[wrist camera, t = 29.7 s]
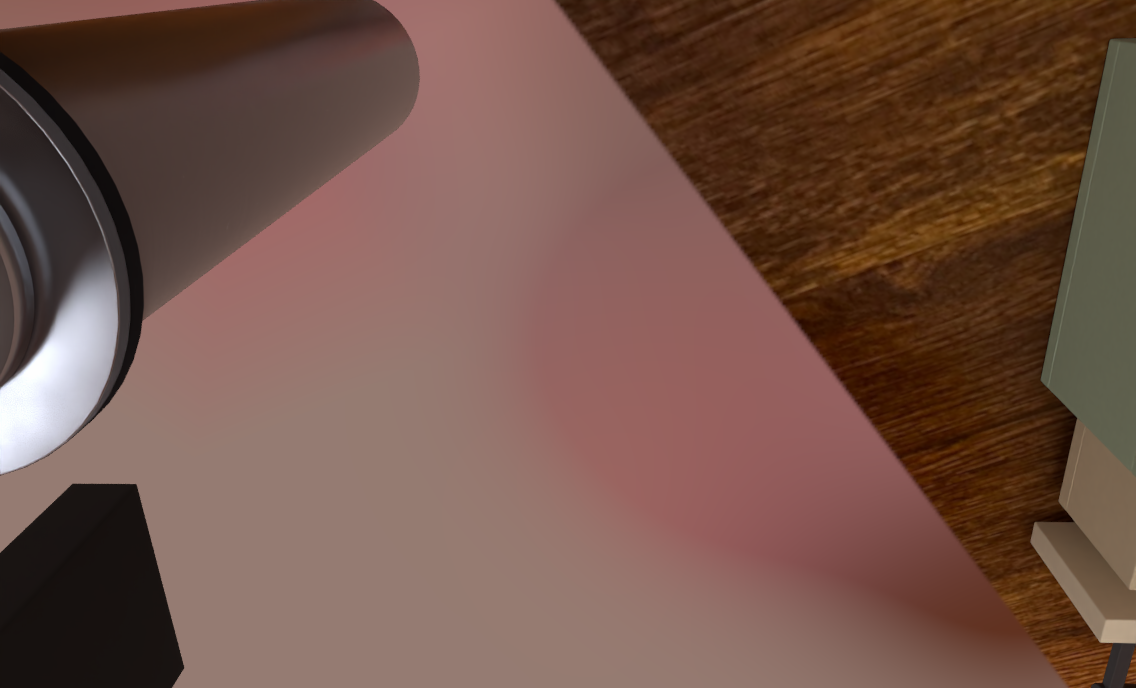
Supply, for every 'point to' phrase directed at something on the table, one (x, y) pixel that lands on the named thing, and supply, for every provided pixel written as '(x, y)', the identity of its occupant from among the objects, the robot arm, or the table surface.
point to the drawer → (1097, 548)
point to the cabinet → (1102, 273)
